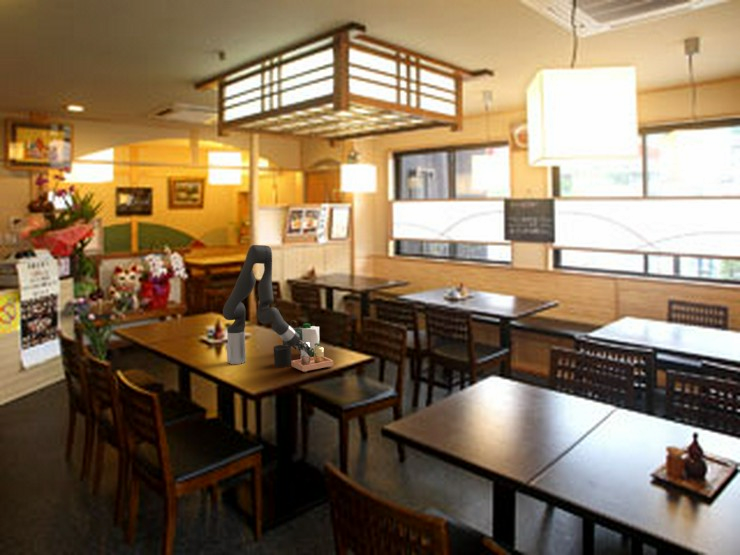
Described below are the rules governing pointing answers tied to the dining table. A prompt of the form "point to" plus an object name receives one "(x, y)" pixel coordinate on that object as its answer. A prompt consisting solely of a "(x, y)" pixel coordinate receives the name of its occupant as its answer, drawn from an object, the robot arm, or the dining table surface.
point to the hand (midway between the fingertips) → (307, 353)
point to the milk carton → (311, 336)
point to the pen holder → (282, 355)
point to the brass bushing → (318, 354)
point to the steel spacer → (305, 355)
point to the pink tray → (311, 364)
